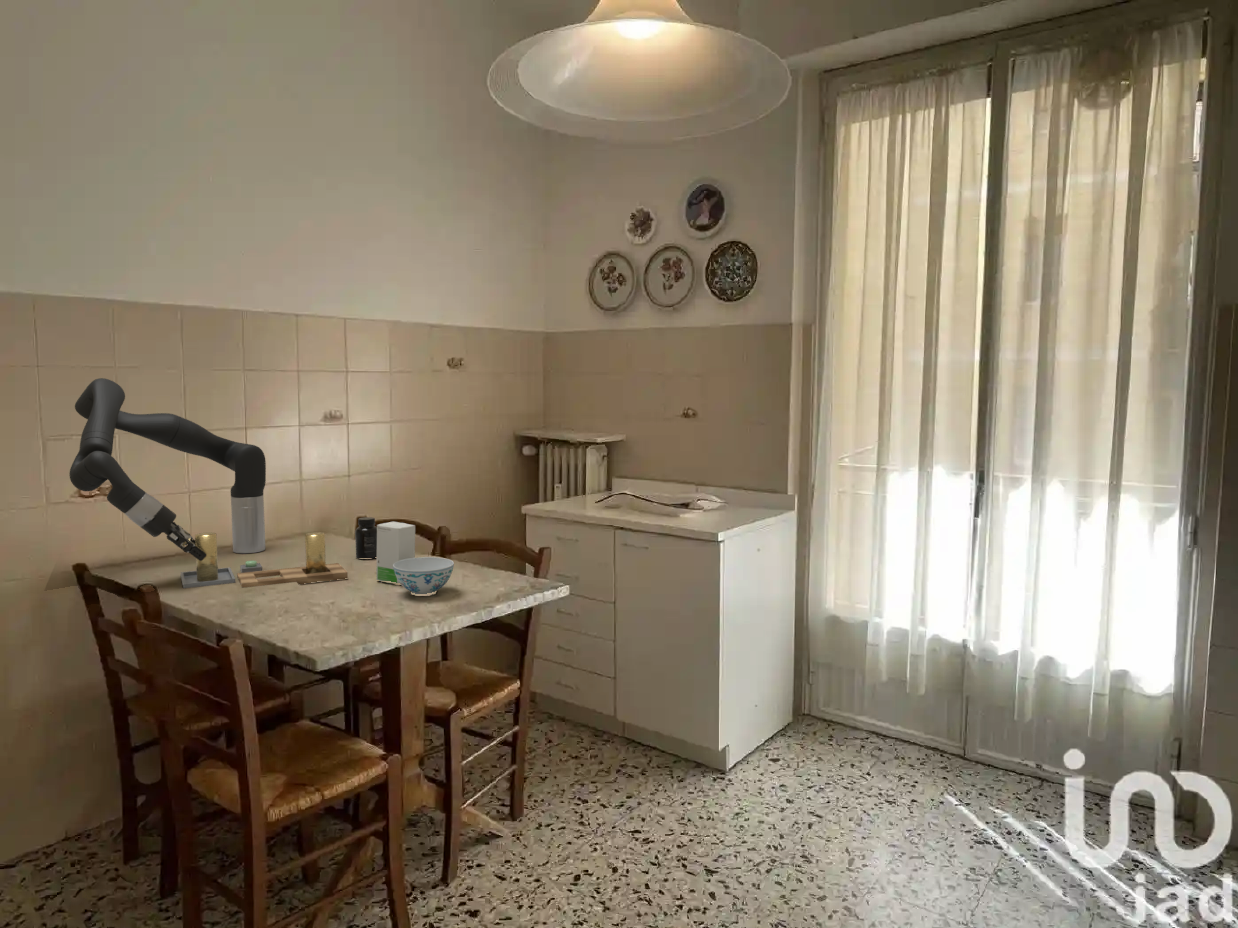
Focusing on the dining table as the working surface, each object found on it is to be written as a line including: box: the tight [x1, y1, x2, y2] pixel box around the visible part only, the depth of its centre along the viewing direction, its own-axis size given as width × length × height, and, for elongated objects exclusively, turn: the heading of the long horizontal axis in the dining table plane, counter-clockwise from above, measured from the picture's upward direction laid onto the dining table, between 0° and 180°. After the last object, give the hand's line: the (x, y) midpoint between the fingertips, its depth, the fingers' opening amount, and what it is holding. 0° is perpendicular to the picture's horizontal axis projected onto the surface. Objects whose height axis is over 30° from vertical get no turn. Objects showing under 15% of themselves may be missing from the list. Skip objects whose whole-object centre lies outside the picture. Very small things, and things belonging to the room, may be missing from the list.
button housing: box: [239, 562, 263, 573], centre depth 225 cm, size 5×5×2 cm
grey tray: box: [180, 567, 236, 589], centre depth 216 cm, size 14×12×2 cm
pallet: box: [236, 562, 349, 588], centre depth 220 cm, size 12×26×2 cm, turn 120°
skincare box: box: [375, 521, 416, 583], centre depth 219 cm, size 8×7×16 cm
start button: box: [244, 560, 258, 567], centre depth 224 cm, size 3×3×1 cm
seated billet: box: [304, 531, 327, 574], centre depth 222 cm, size 5×5×12 cm
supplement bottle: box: [354, 516, 377, 559], centre depth 247 cm, size 7×7×12 cm
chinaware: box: [393, 556, 455, 594], centre depth 208 cm, size 15×15×8 cm
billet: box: [194, 532, 219, 582], centre depth 215 cm, size 5×5×12 cm
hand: (202, 554), depth 214 cm, fingers open, 8 cm apart
